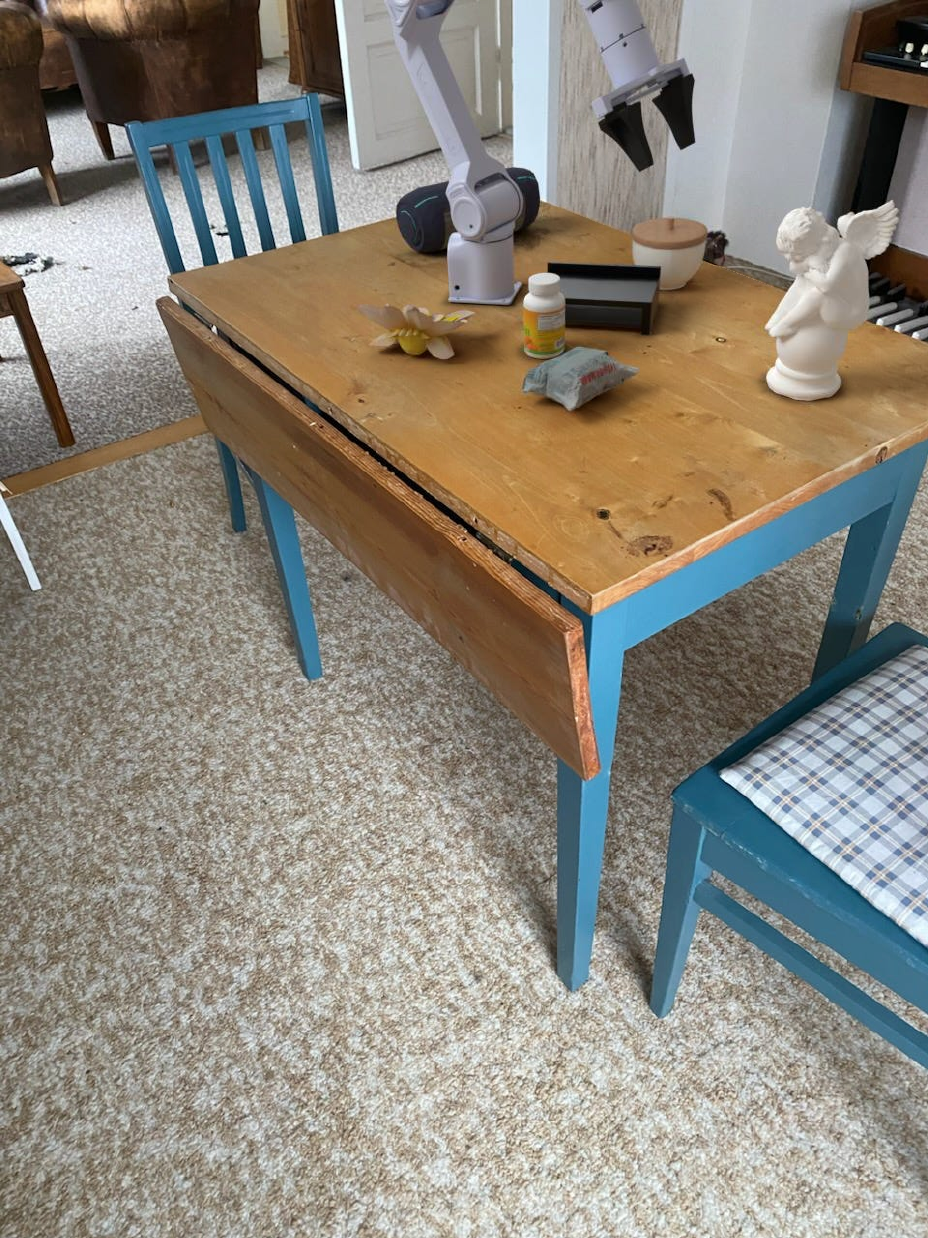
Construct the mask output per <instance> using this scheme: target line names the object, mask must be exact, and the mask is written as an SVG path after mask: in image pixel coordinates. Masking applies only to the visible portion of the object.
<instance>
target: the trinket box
mask: <svg viewBox="0 0 928 1238" xmlns="http://www.w3.org/2000/svg"><path fill="white" fill-rule="evenodd" d="M708 233H709V231H708V228H707V226H706V225H704V223H702V222H699V221H696V220H693V219H690V218H684V217H683V218H682V217H675V216H667V217H657V218H652V219H651V218H650V219H647V220H643V221H641V222H639V223H638V224H636V225H635V226H634V227H633V228H632V229H631V238H632V240H631V249H632V250H631V253H632V254H631V256H632V261H633V265H642V266H661V277H660V290H659V291H673V290H679V289H681V288H683V287H685V286H686V285H687V283H688V282H689V281H690V280H691V279H692V278H693V277H694V276H695V275H696V274H697V272H698V271H699V269H700V267H701V264H702V262H703V259H704V255H705V250H706V244H707V242H706V241H707V238H708V235H709V234H708Z"/></svg>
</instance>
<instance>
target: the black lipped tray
mask: <svg viewBox="0 0 928 1238" xmlns="http://www.w3.org/2000/svg"><path fill="white" fill-rule="evenodd" d="M546 267H547V271H546V273H552V274H556V275H558V276H559V277H560V289H559V292H560V293H562V294H563V296H564V298H565V325H572V326H574V325H575V326H590V327H607V328H608V327H610V328H623V329H624V328H625V329H626V328H627V329H640V335H641V336H642V335H643V336H644V335H646V336H649V335H650V334H651V330H652V329H653V324H654V321H655V318H656V314H657V311H658V308H659V302H660V291H661V290H660V277H661V266H642V265H634V264H616V263H612V264H611V263H594V262H593V263H591V262H569V261H568V262H566V261H547V266H546Z"/></svg>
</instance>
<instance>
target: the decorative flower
mask: <svg viewBox="0 0 928 1238" xmlns="http://www.w3.org/2000/svg"><path fill="white" fill-rule="evenodd" d="M355 309H356V310H357V311H359V312H360V313H361V314H362V315H364V316H365V317H366V318H368V319H369V320H370V321H372V322H373V323H375V324H376V325H379V326H380V327H382V328H384V329H386V330H388V331H387V332H385V333H382V334H381V335H379V336H378V337H376V338H375V339H374V340H373V341H372V342H370V343H369V344H368V345H369V346H376V347H389V346H393V345H394V344H396V345H397V344H399V345H400V347H401V348H402V350H403V351H404V352H405V353H406V354H409V355H411V356H420V355H422V354H424V353H425V352H426V351H429V353H430V354H432V356H433V357H435V358H437V359H440V360H447V359H450V358H452V357H453V356H454V355H455V352H454V349H453V345H452V344H451V342H450V340H449V338H448V337H447V334H450V333H452V332H454V331H456V330H457V329H458V328H460V327H462V326H463V325H465V324H467V323H468V319H470V318H471V317H472V316H473V315H474V314H475V312H474V311H471V310H467V309H463V310H462V309H461V310H456V311H454V312H451V313H449V314H447V315H445V314H443V313H442V314H432V315H430V311H429V310H428V309H427V307H416V306H415V305H412V304H406V305H405V306H404V307H403V308H402V310H401V309H400V308H398V307H396V306H393V305H391V304H389V303H386V305H384V306H381V307H377V306H375V305H372V304H369V303H368V304H367V303H362V304H360V305H357V306H356V307H355Z"/></svg>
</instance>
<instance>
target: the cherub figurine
mask: <svg viewBox="0 0 928 1238" xmlns="http://www.w3.org/2000/svg"><path fill="white" fill-rule="evenodd" d="M899 210H900V209H899V208H898V207H895V201H894V199H891V200H890V201H888V202H886V203H884V204H883V205H881V206H879V207H877V208H874V209H869V210H862V211H861V212H860V211H859V212H858V213H856V214H855V213H854V212H853V211H850V212H848V213H847V214H843V215H841V216H839V217H838V219H837V223H836V224H837V225H836V226H837V229H836V228H835V226H832V225H830V224H828V223H827V222H826V219H825V217H824V214H823V212H822V211H817V210H815V209H813V207H812V206H809V207H805V206H802V207H798V208H794V209H792V210H790V211H789V212H788V213H786V215H785V216H784V217H783V219H782V220H781V224H780V225H779V227H778V228H777V234H776V240H775V243H776V247H777V250H778V251H779V252H780V253H781V254H782V255H783V256H784V258H785V259H786V260H787V261H790V263H789V272H790V273H792V274H794V275H797V276H796V278H795V280H794V282H793V283H792V284H791V286H790V287H789V288H788V290H787V291H786V293H785V295H784V296H783V298H782V299H781V301H780V303H779V305H778V306H777V308H776V310H775V311H774V313H773V314H772V315H771V317H770V318H769V320H768V322H767V323H766V324H765V326H764V329H765V331H767V332H768V335H769V336H770V337H771V338H772V339H773V338H774V339H776V341H775V342H776V343H775V344H776V345H775V347H776V354H777V356H778V357H777V358H776V360H775V363H774V366H772V367H771V368H769V370H768V372H767V373H766V384H767V386H768V388H769V389H770V390H771V391H773V392H774V393H776V394H778V395H781V396H782V395H783V396H784V397H788V398H790V399H793V400H797V401H798V400H799V401H808V402H809V401H815V400H821V399H825V398H830V397H833V395H835V394H836V393H837V392H838V391H839V389H840V388H841V384H842V379H841V376H840V375H839V374H838V370H839V366H838V363H839V361H840V360H841V359H842V357H843V355H844V353H845V351H846V348H847V344H848V332H849V331H853V330H856V329H857V328H859V327H860V326H862V325H863V324H864V323H865V321H866V319H867V317H868V315H869V311H870V293H869V269H868V265H867V261H866V260H870V259H871V258H875V257H876V256H877V255H882V253H884V252H886V250H887V248H888V247H889V246H890V243H891V242H892V236H893V235H894V231H896V229H897V224H899V222H900V219H899V216H897V214H899ZM840 236H841V237H840Z"/></svg>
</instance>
